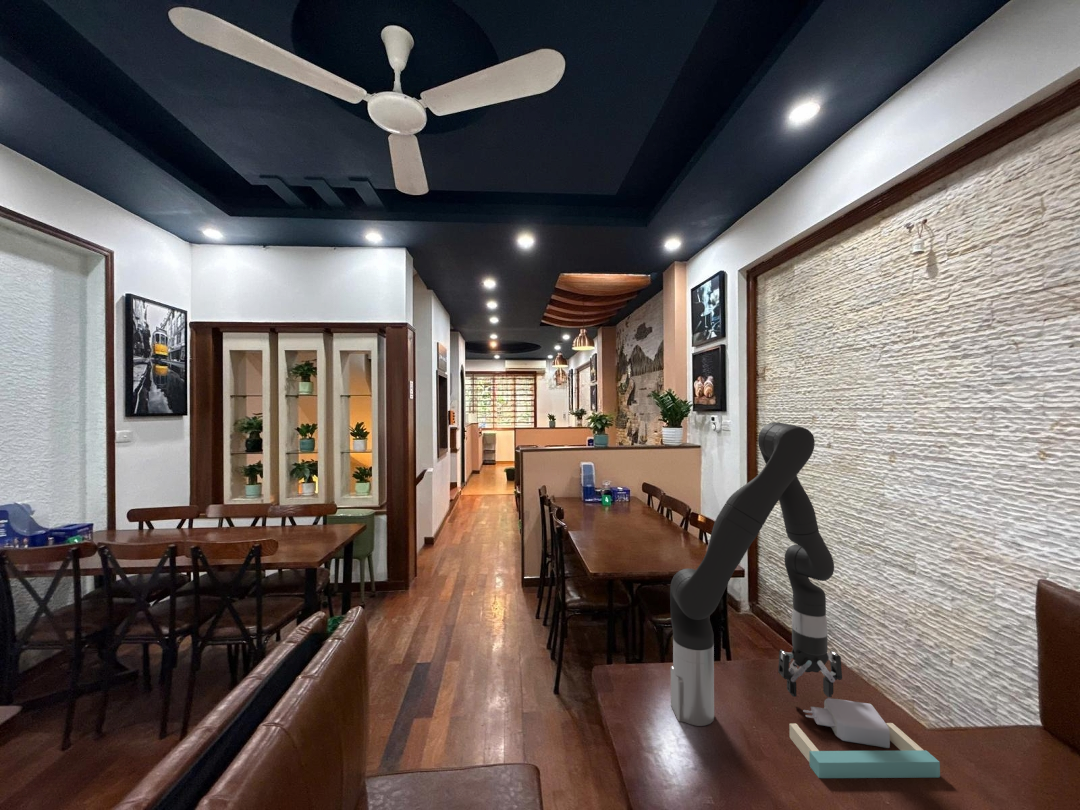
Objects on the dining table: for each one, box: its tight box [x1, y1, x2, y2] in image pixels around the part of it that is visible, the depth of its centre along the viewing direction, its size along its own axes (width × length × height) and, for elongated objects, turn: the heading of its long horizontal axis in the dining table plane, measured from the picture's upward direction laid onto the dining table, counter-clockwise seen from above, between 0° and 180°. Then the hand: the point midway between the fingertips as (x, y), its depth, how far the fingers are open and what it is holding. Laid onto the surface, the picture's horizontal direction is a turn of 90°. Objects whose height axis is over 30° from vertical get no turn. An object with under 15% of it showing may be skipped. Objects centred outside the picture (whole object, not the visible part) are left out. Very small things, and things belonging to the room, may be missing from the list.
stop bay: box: [788, 722, 941, 779], centre depth 93 cm, size 24×11×3 cm, turn 90°
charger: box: [802, 697, 891, 749], centre depth 101 cm, size 5×9×15 cm
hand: (810, 695), depth 109 cm, fingers open, 8 cm apart
